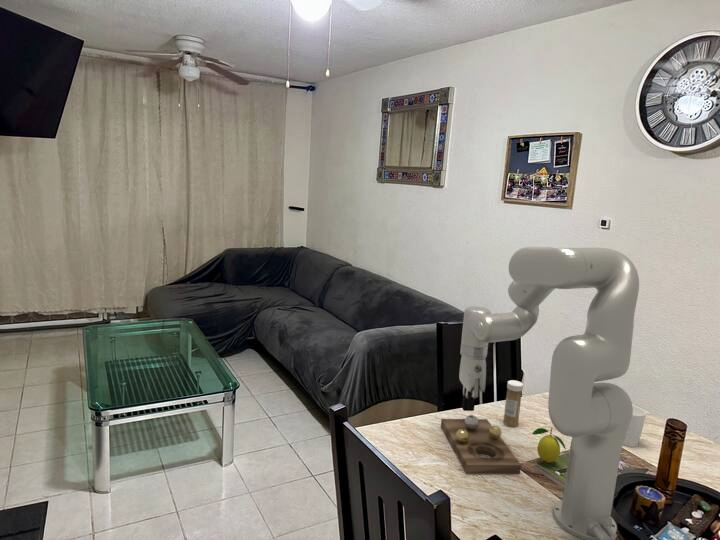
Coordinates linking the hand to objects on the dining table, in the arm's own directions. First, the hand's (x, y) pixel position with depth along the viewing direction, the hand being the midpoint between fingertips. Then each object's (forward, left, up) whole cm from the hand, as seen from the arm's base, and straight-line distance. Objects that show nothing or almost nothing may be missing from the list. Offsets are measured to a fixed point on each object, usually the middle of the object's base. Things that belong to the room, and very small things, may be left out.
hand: (467, 409), depth 142 cm
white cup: (-6, -46, -7) cm, 47 cm away
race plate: (-10, 0, -6) cm, 12 cm away
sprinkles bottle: (+4, -15, -7) cm, 17 cm away
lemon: (-17, -16, -7) cm, 25 cm away
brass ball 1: (-11, +5, -2) cm, 12 cm away
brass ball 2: (-9, -5, -2) cm, 11 cm away
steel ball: (-4, 0, -2) cm, 5 cm away
